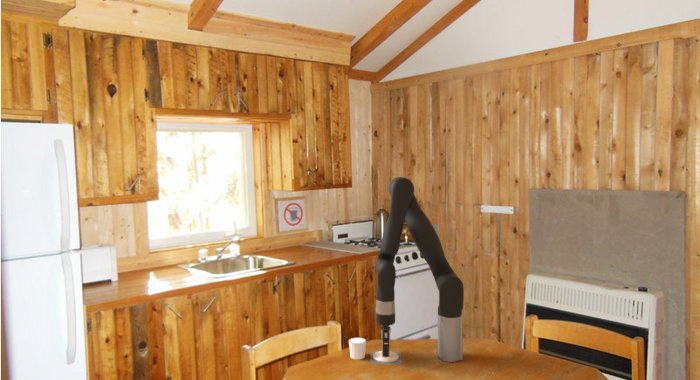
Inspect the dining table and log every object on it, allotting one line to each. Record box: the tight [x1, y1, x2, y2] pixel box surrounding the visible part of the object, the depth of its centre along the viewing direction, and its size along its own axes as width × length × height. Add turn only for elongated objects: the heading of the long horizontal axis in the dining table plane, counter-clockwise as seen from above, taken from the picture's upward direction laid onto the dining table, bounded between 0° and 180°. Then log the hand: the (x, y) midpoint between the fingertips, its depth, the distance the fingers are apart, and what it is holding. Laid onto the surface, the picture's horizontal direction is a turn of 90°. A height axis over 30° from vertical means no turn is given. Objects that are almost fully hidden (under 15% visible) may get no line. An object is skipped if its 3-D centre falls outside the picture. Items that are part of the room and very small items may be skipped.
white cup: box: [348, 337, 367, 360], centre depth 198 cm, size 7×7×7 cm
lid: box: [373, 342, 399, 363], centre depth 197 cm, size 10×10×5 cm
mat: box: [369, 351, 403, 365], centre depth 197 cm, size 12×12×1 cm
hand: (385, 352), depth 197 cm, fingers open, 6 cm apart
